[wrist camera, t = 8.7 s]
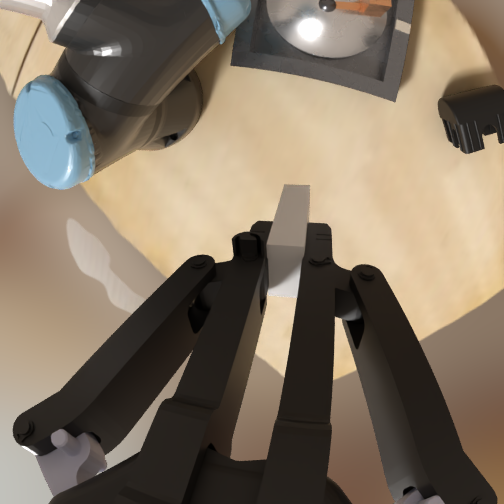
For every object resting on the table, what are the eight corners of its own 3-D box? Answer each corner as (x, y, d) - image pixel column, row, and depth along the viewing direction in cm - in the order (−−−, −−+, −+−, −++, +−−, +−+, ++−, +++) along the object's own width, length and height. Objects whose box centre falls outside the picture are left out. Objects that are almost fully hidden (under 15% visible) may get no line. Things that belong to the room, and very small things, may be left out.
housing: (238, 66, 33) (229, 65, 29) (260, -54, 21) (253, -66, 18) (387, 99, 31) (396, 102, 28) (409, -23, 19) (418, -32, 16)
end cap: (484, 82, 25) (509, 86, 19) (496, 128, 28) (520, 139, 22) (430, 96, 29) (450, 101, 24) (445, 143, 32) (465, 156, 27)
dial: (273, 59, 30) (261, 53, 23) (265, -33, 23) (251, -57, 16) (385, 63, 27) (404, 60, 20) (376, -30, 20) (389, -53, 13)
